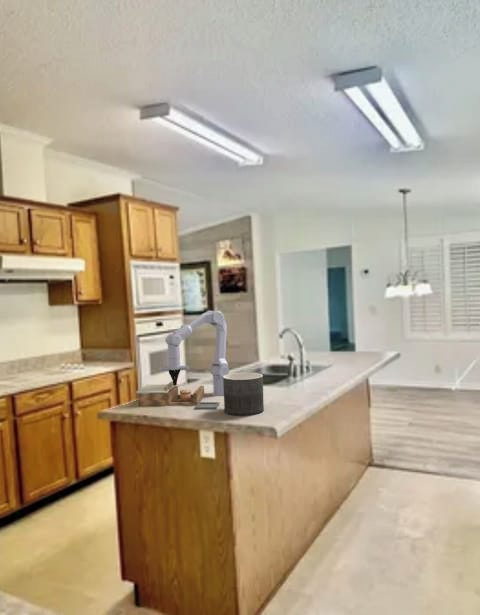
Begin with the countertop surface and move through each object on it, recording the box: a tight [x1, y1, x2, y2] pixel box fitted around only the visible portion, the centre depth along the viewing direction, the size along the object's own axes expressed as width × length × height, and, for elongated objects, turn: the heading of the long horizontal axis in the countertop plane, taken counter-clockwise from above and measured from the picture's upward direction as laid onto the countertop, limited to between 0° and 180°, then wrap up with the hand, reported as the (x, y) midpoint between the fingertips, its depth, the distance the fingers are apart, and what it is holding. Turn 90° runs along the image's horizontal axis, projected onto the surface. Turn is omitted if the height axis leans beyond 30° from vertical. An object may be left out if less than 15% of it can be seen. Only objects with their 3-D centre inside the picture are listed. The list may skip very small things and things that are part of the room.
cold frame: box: [137, 385, 205, 407], centre depth 242 cm, size 29×19×6 cm, turn 84°
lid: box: [135, 381, 177, 394], centre depth 243 cm, size 15×19×2 cm
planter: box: [223, 372, 265, 417], centre depth 219 cm, size 18×18×16 cm
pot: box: [179, 389, 192, 402], centre depth 242 cm, size 5×5×5 cm
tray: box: [194, 401, 220, 410], centre depth 228 cm, size 10×10×1 cm
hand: (175, 385), depth 242 cm, fingers closed
